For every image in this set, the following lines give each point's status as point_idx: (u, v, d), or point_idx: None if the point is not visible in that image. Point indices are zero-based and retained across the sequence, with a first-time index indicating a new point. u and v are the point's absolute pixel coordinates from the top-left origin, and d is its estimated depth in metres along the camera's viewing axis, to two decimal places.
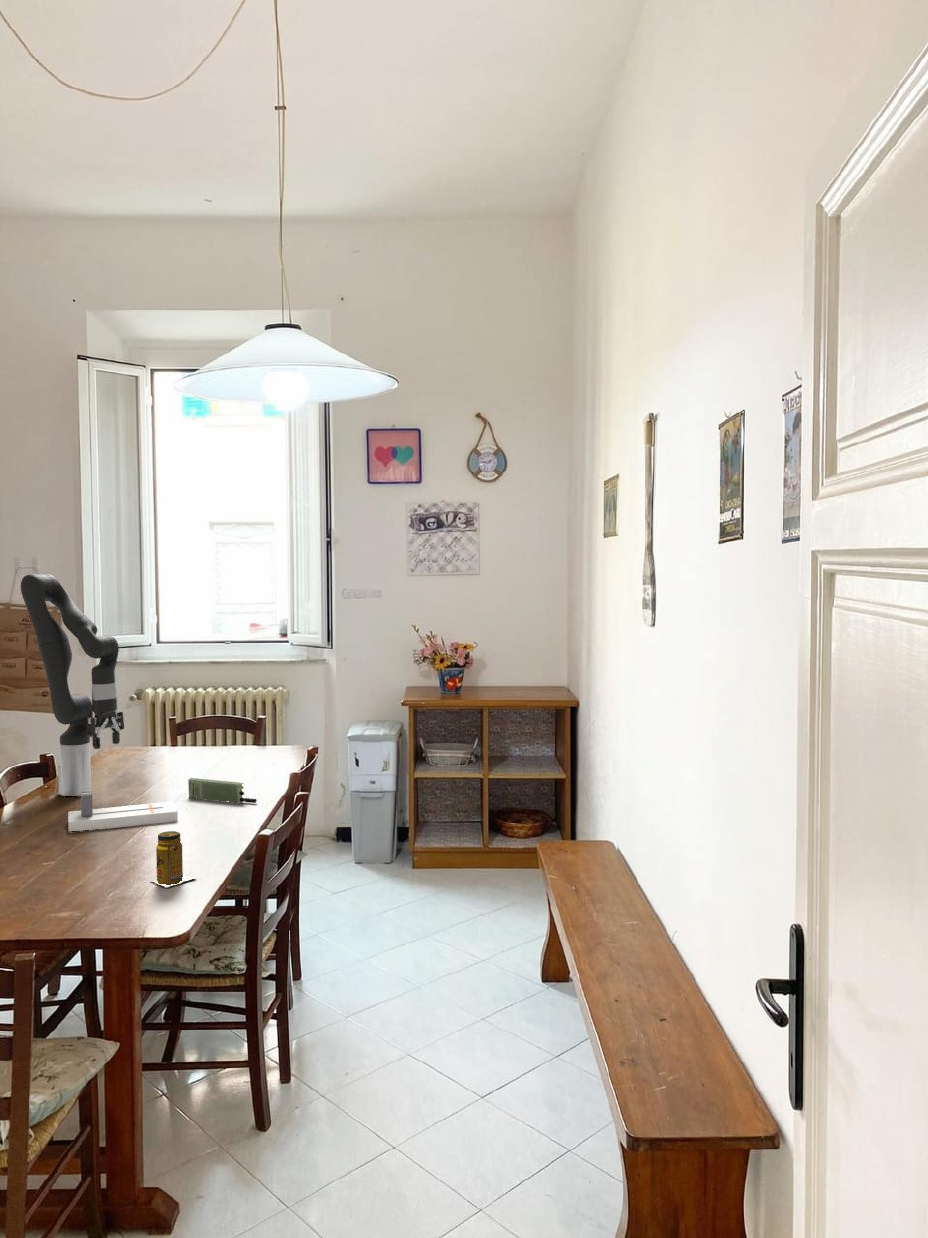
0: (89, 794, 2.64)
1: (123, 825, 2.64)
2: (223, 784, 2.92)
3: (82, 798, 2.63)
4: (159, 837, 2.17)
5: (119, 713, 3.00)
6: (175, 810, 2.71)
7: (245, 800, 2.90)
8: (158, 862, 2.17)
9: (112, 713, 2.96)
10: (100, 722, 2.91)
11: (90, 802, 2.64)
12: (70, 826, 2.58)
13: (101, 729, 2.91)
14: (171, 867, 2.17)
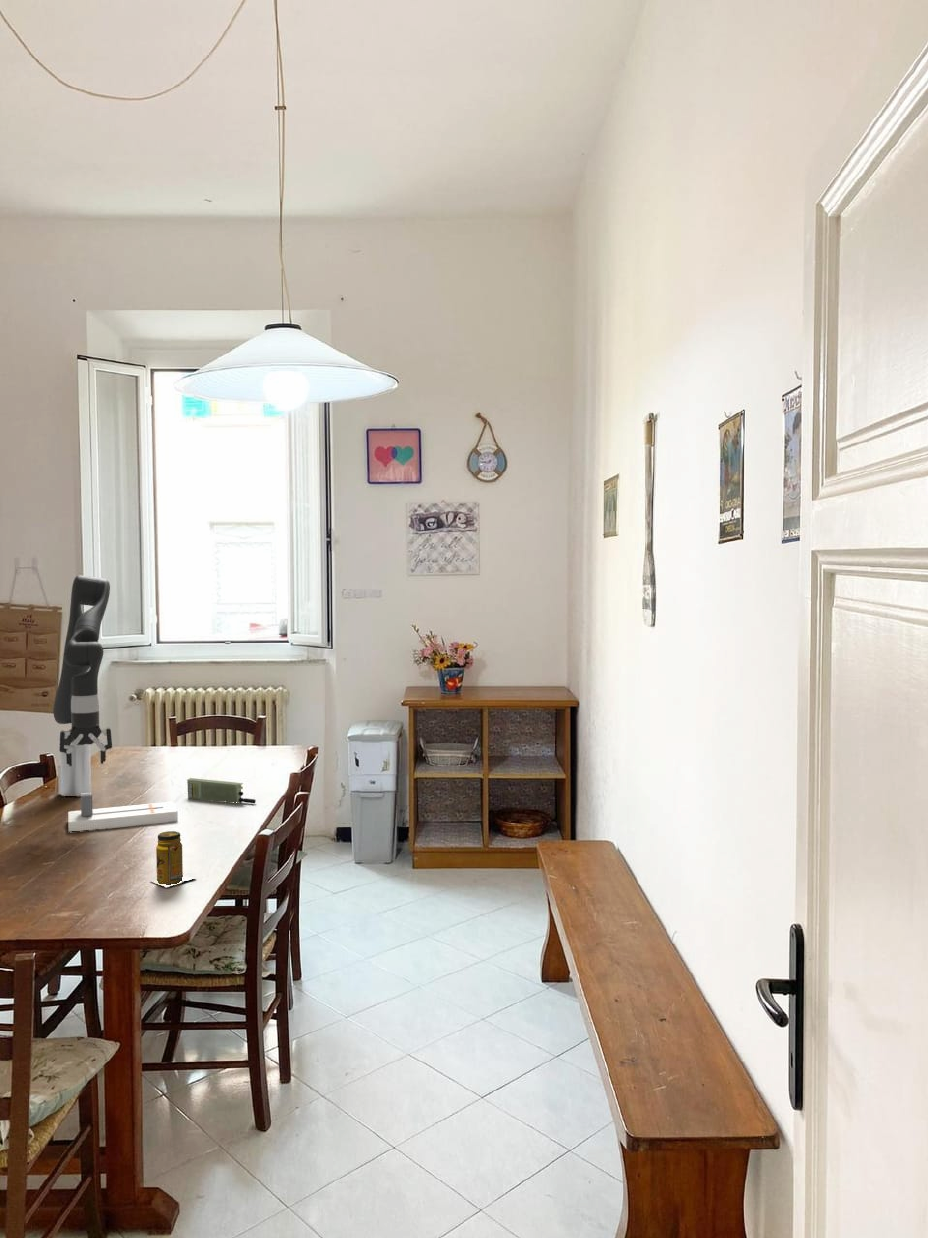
0: (89, 794, 2.64)
1: (123, 825, 2.64)
2: (222, 784, 2.92)
3: (82, 798, 2.63)
4: (159, 837, 2.17)
5: None
6: (175, 810, 2.71)
7: (244, 800, 2.90)
8: (158, 862, 2.17)
9: None
10: None
11: (90, 802, 2.64)
12: (70, 826, 2.58)
13: None
14: (171, 867, 2.17)
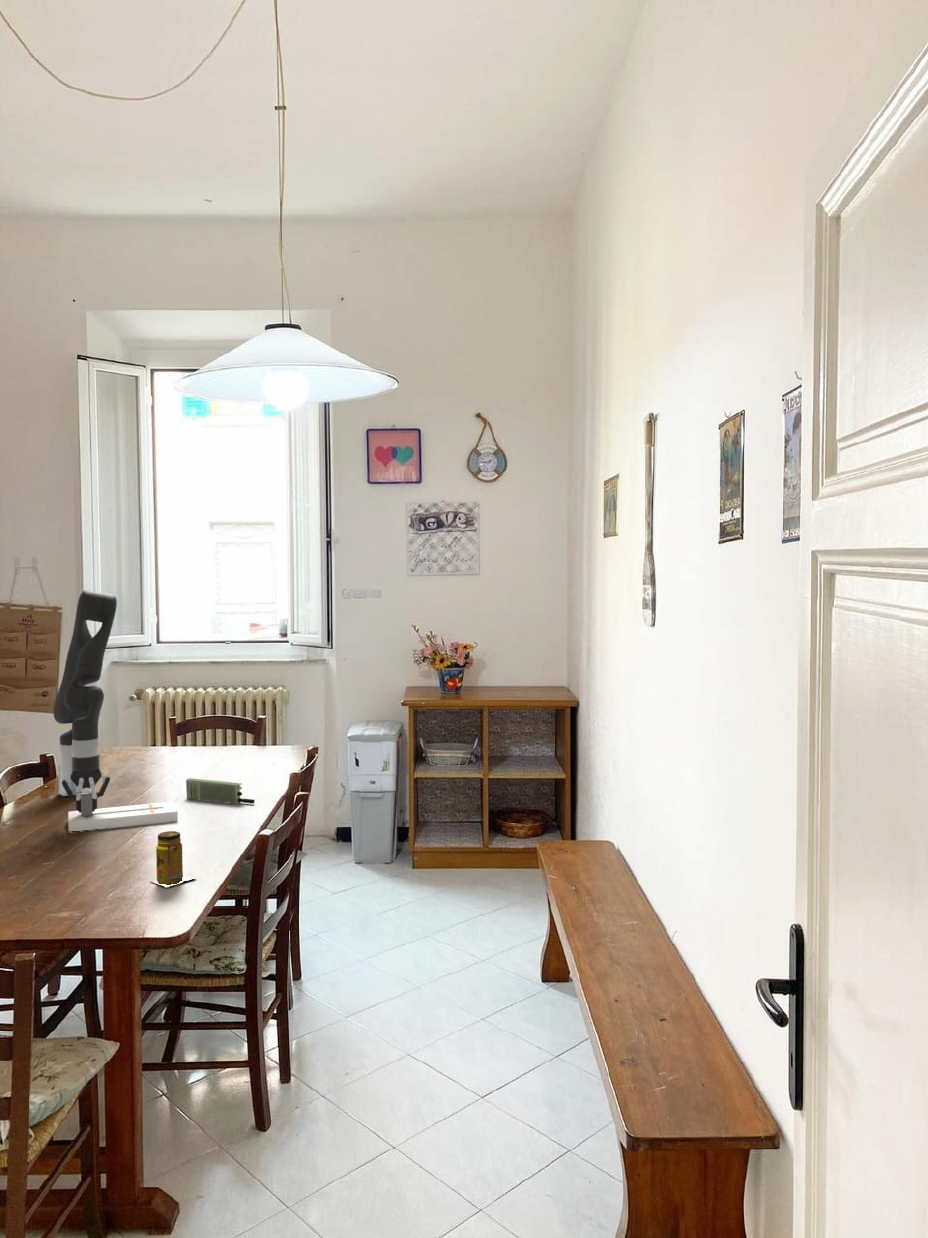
0: (89, 794, 2.64)
1: (123, 825, 2.64)
2: (221, 784, 2.91)
3: (82, 798, 2.63)
4: (159, 837, 2.17)
5: None
6: (175, 810, 2.71)
7: (243, 801, 2.90)
8: (158, 862, 2.17)
9: None
10: None
11: (90, 802, 2.64)
12: (70, 826, 2.58)
13: None
14: (171, 867, 2.17)
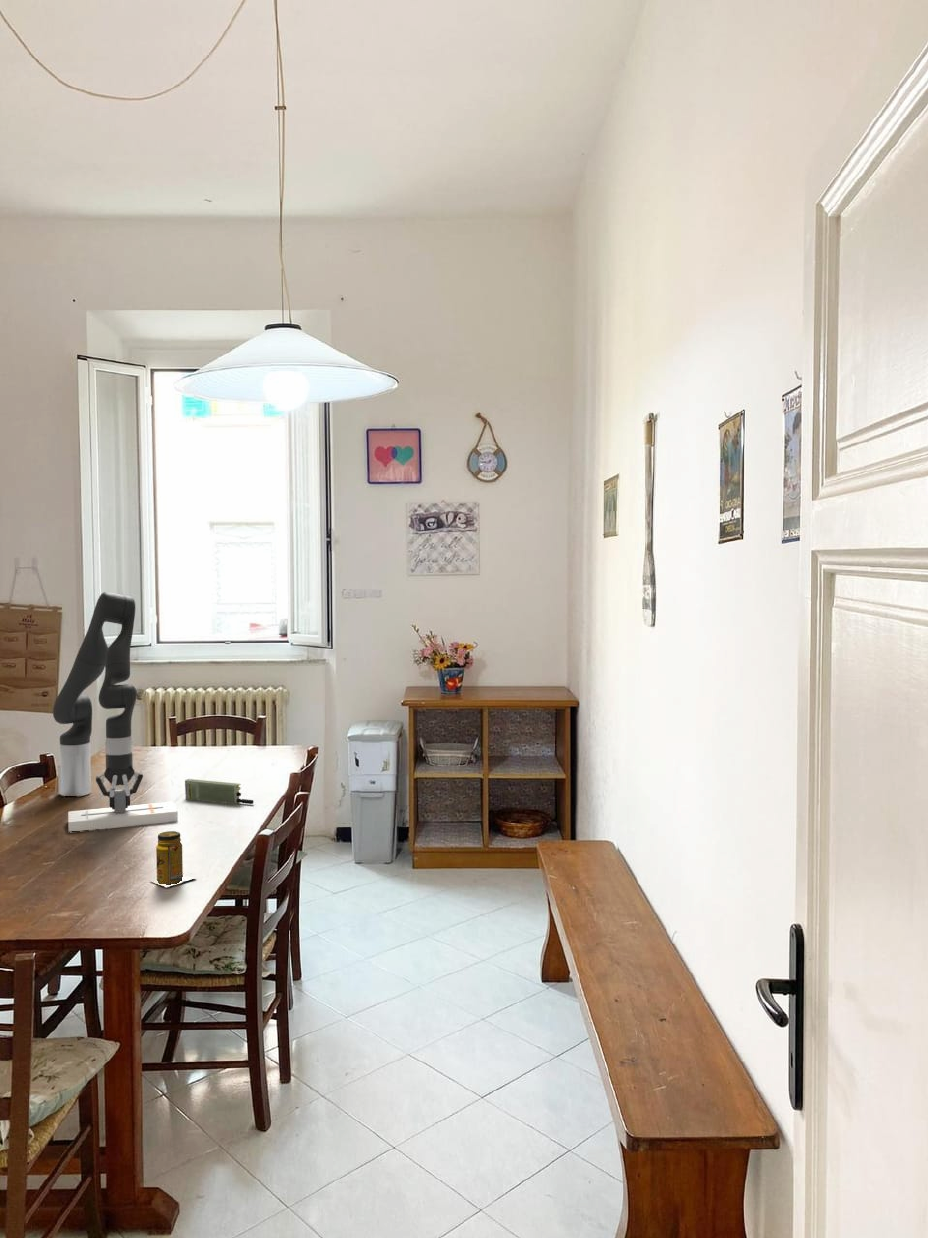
0: (122, 791, 2.68)
1: (123, 825, 2.64)
2: (220, 785, 2.91)
3: (115, 795, 2.66)
4: (159, 837, 2.17)
5: None
6: (175, 810, 2.71)
7: (242, 801, 2.89)
8: (158, 862, 2.17)
9: None
10: None
11: (123, 799, 2.67)
12: (70, 826, 2.58)
13: None
14: (171, 867, 2.17)
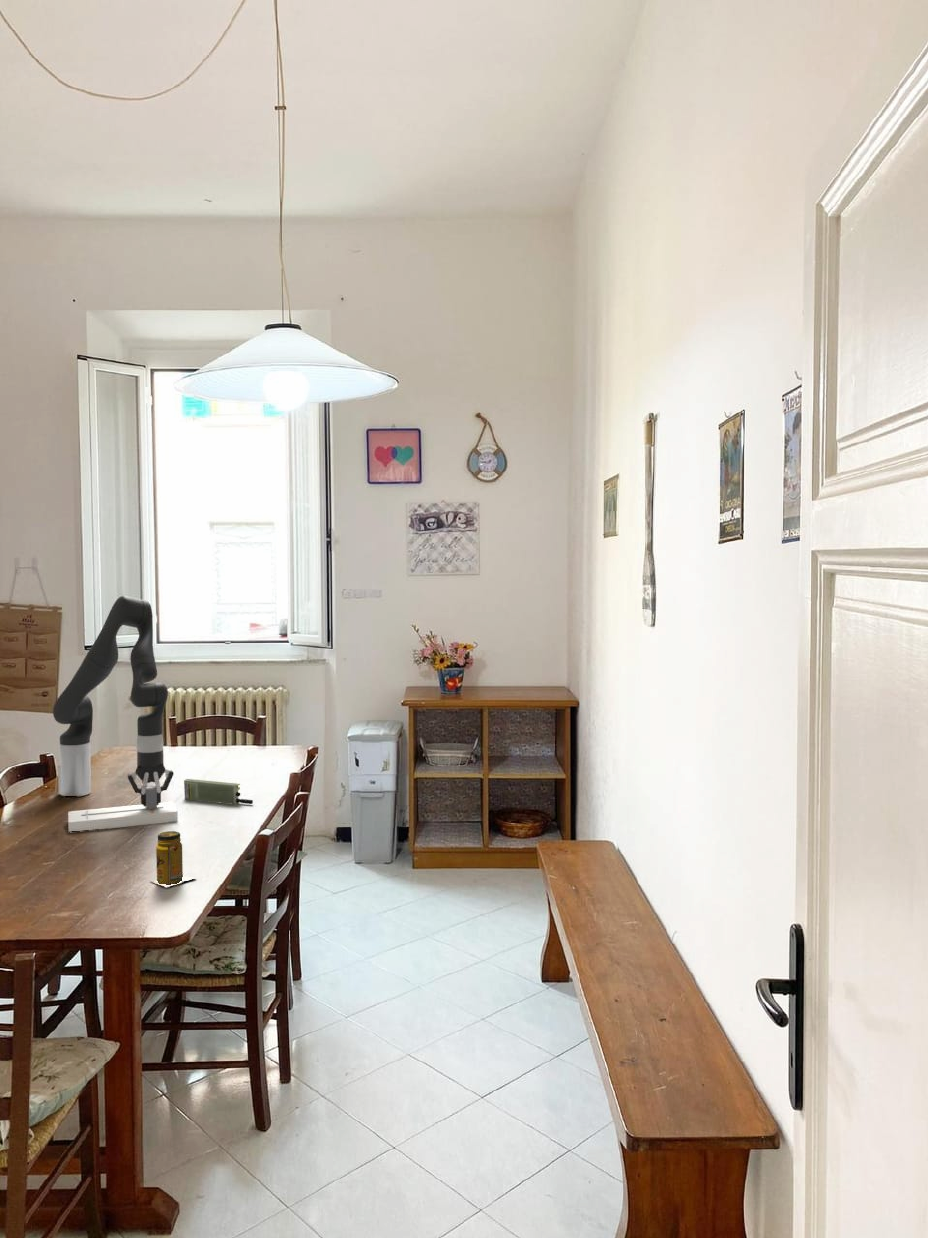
0: (153, 788, 2.72)
1: (123, 825, 2.64)
2: (219, 785, 2.91)
3: (147, 792, 2.70)
4: (159, 837, 2.17)
5: None
6: (175, 810, 2.71)
7: (241, 801, 2.89)
8: (158, 862, 2.17)
9: None
10: None
11: (155, 796, 2.71)
12: (70, 826, 2.58)
13: None
14: (171, 867, 2.17)
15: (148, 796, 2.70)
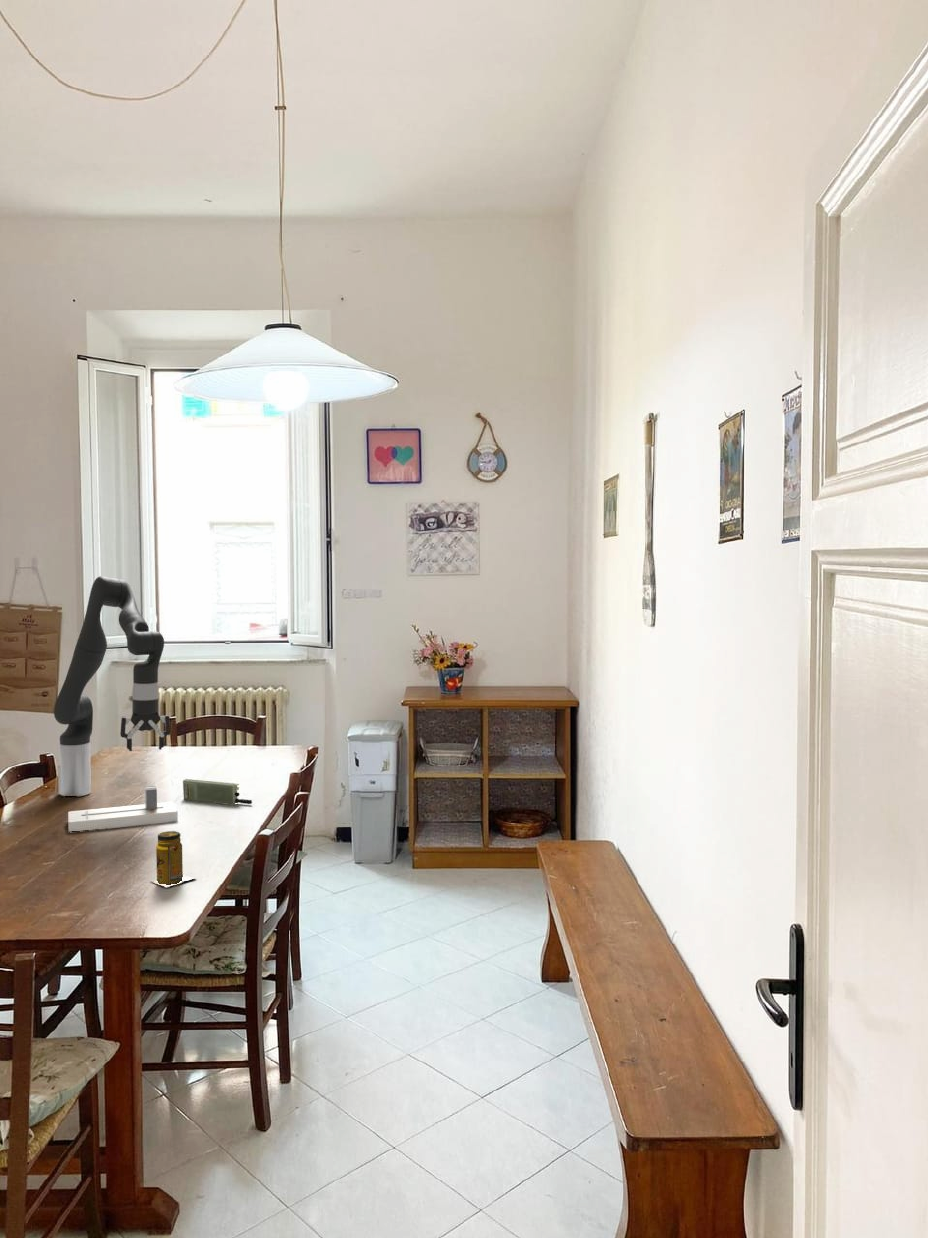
0: (153, 788, 2.72)
1: (123, 825, 2.64)
2: (218, 785, 2.90)
3: (147, 792, 2.70)
4: (159, 837, 2.17)
5: None
6: (175, 810, 2.71)
7: (240, 801, 2.89)
8: (158, 862, 2.17)
9: None
10: None
11: (155, 796, 2.71)
12: (70, 826, 2.58)
13: None
14: (171, 867, 2.17)
15: (148, 796, 2.70)
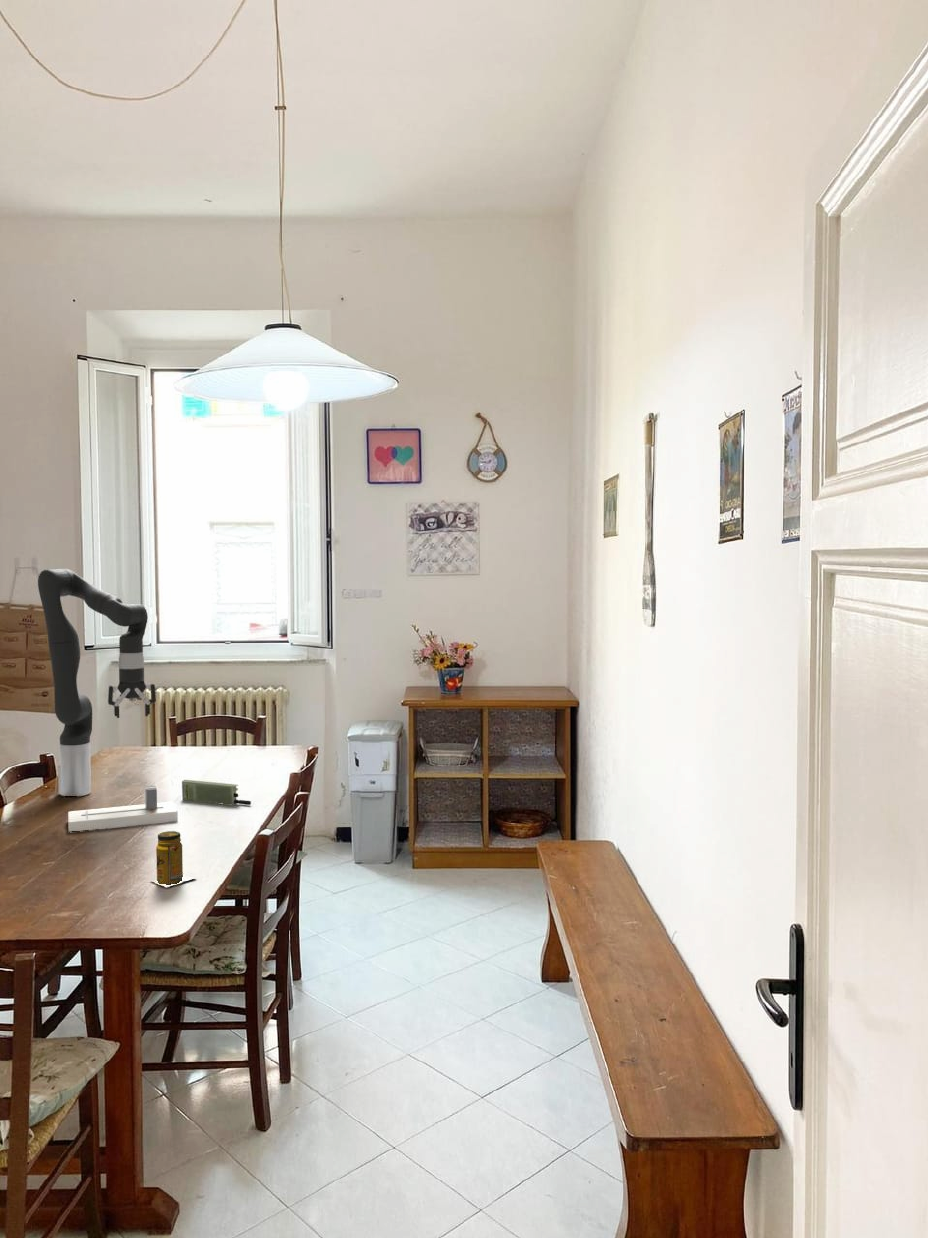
0: (153, 788, 2.72)
1: (123, 825, 2.64)
2: (217, 786, 2.90)
3: (147, 792, 2.70)
4: (159, 837, 2.17)
5: None
6: (175, 810, 2.71)
7: (239, 802, 2.88)
8: (158, 862, 2.17)
9: None
10: None
11: (155, 796, 2.71)
12: (70, 826, 2.58)
13: None
14: (171, 867, 2.17)
15: (148, 796, 2.70)
